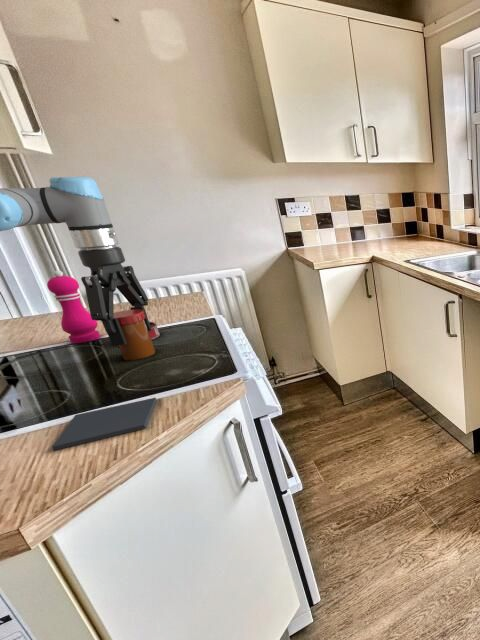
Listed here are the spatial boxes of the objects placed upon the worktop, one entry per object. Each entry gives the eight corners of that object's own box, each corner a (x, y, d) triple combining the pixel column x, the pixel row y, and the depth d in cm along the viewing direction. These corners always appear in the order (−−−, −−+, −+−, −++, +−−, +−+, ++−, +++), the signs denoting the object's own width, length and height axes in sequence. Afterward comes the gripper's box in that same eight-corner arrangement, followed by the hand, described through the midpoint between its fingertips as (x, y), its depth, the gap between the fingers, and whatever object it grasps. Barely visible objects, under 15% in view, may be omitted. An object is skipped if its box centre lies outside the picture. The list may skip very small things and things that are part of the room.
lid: (137, 323, 103) (134, 316, 102) (100, 327, 100) (97, 319, 100) (151, 314, 109) (148, 307, 108) (116, 318, 107) (113, 311, 106)
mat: (53, 450, 69) (51, 446, 69) (76, 418, 79) (75, 414, 79) (145, 428, 75) (144, 424, 75) (157, 400, 85) (155, 397, 84)
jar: (120, 362, 104) (104, 321, 100) (126, 354, 109) (111, 315, 105) (153, 356, 107) (138, 316, 103) (157, 348, 112) (143, 310, 108)
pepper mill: (106, 338, 122) (78, 269, 114) (72, 346, 116) (41, 274, 109) (98, 333, 125) (71, 267, 118) (65, 341, 120) (34, 271, 113)
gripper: (81, 254, 89) (120, 352, 97) (146, 240, 109) (173, 322, 117) (40, 256, 88) (83, 355, 96) (113, 242, 108) (143, 324, 116)
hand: (133, 337), depth 106 cm, fingers open, 9 cm apart
